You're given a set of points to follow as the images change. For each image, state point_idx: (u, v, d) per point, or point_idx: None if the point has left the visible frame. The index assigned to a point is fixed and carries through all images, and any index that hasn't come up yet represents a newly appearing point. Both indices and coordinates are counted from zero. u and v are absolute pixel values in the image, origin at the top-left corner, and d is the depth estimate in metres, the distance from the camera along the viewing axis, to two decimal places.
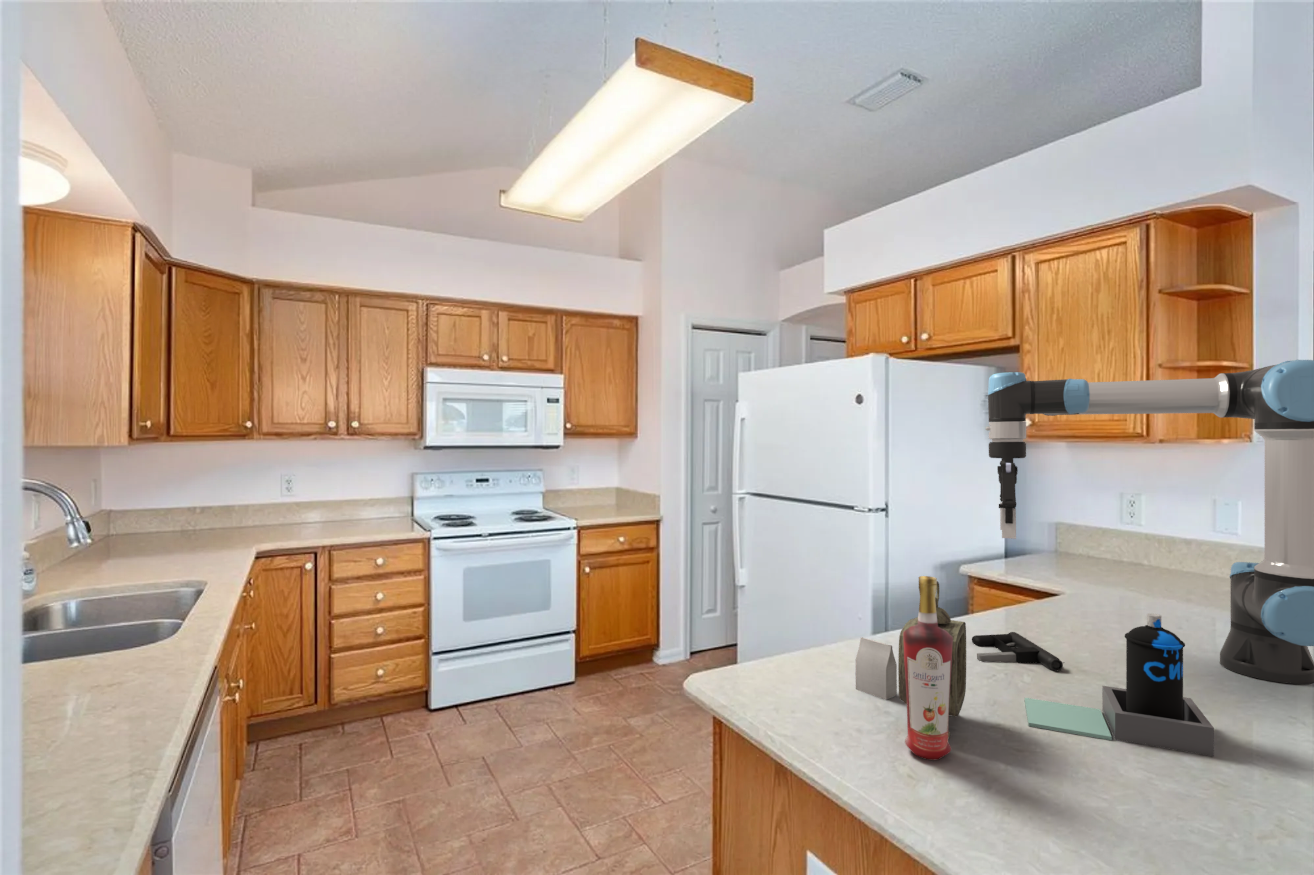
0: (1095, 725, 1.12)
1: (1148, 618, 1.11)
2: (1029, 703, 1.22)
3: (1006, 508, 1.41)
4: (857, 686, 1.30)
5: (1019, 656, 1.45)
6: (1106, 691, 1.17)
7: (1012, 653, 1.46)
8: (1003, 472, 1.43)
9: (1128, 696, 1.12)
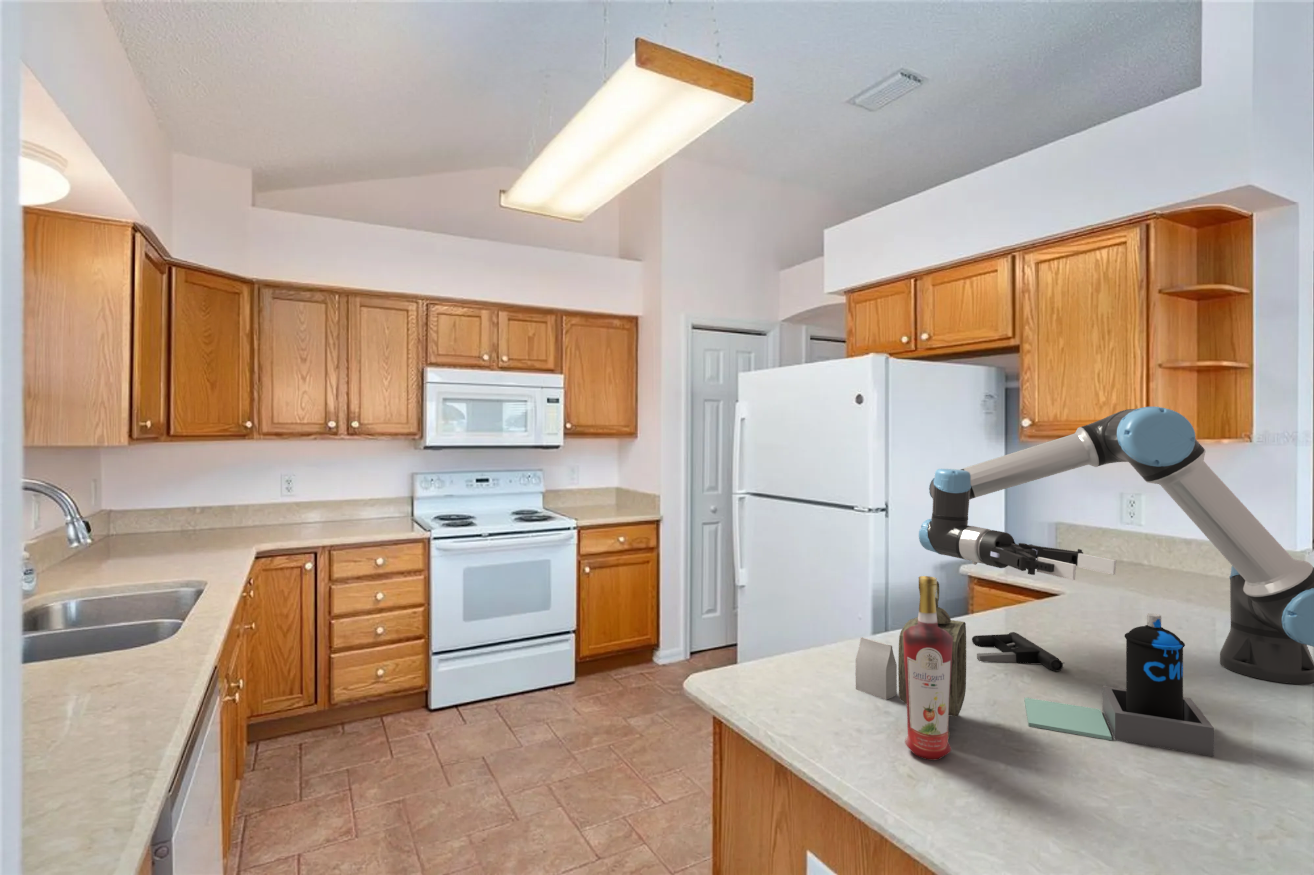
0: (1095, 725, 1.12)
1: (1148, 618, 1.11)
2: (1029, 703, 1.22)
3: (1032, 567, 1.22)
4: (857, 686, 1.30)
5: (1019, 656, 1.44)
6: (1106, 691, 1.17)
7: (1012, 653, 1.46)
8: (998, 560, 1.29)
9: (1128, 696, 1.12)
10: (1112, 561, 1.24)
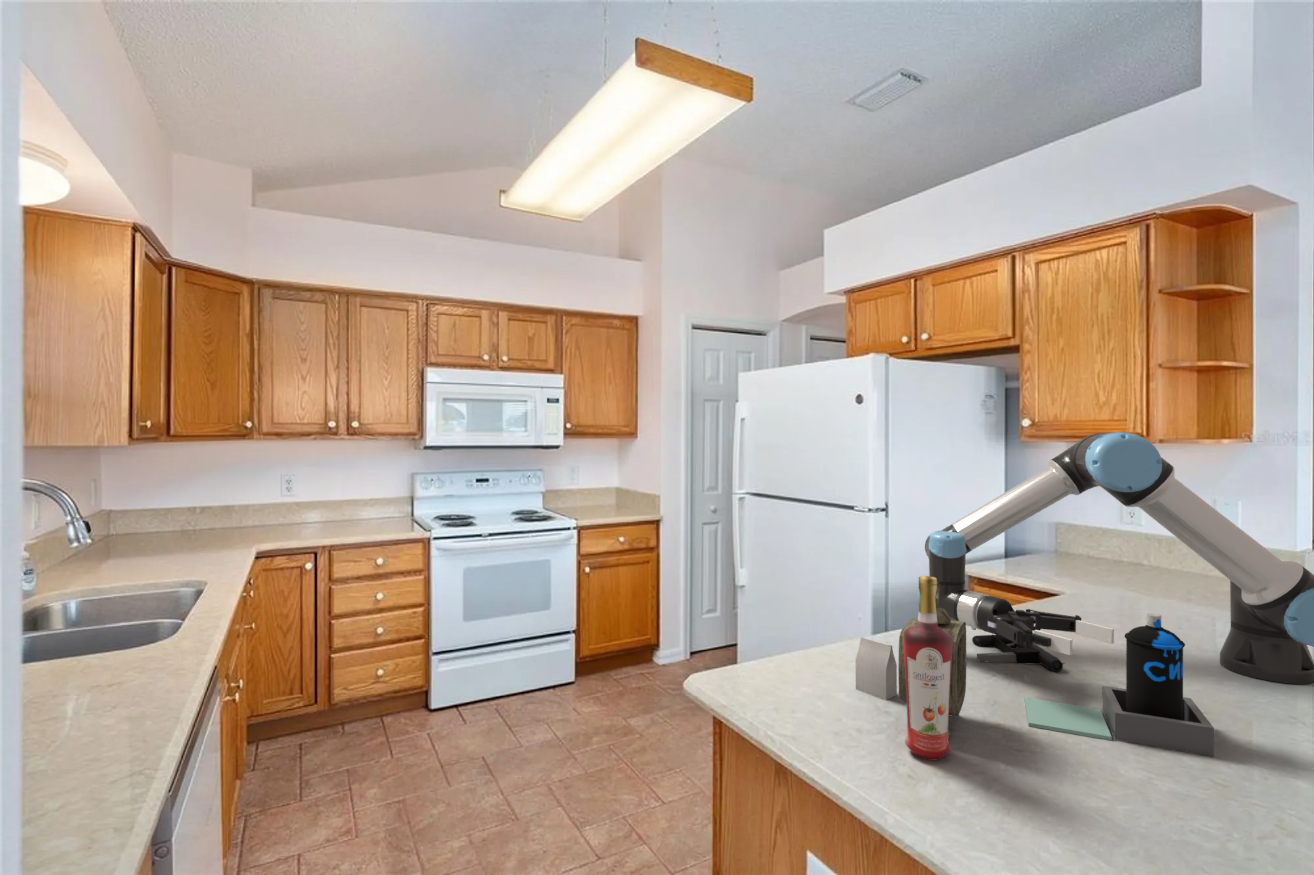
0: (1095, 725, 1.12)
1: (1148, 618, 1.11)
2: (1029, 703, 1.22)
3: (1029, 640, 1.22)
4: (857, 686, 1.30)
5: (1019, 656, 1.44)
6: (1106, 691, 1.17)
7: (1012, 653, 1.46)
8: (995, 631, 1.29)
9: (1128, 696, 1.12)
10: (1110, 630, 1.23)
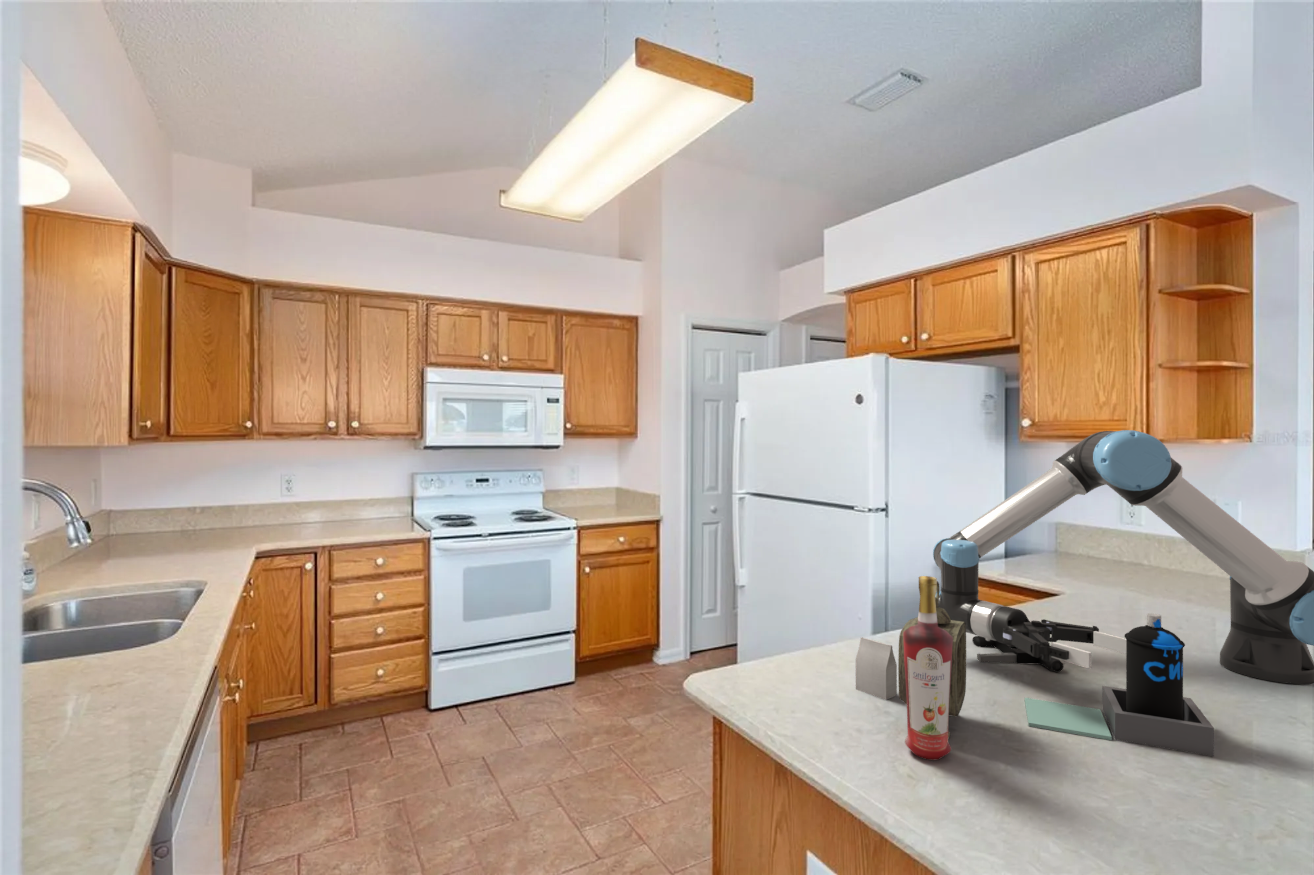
0: (1095, 725, 1.12)
1: (1148, 618, 1.11)
2: (1029, 703, 1.22)
3: (1046, 653, 1.19)
4: (857, 686, 1.30)
5: (1019, 657, 1.44)
6: (1106, 691, 1.17)
7: (1012, 654, 1.45)
8: (1011, 642, 1.26)
9: (1128, 696, 1.12)
10: None
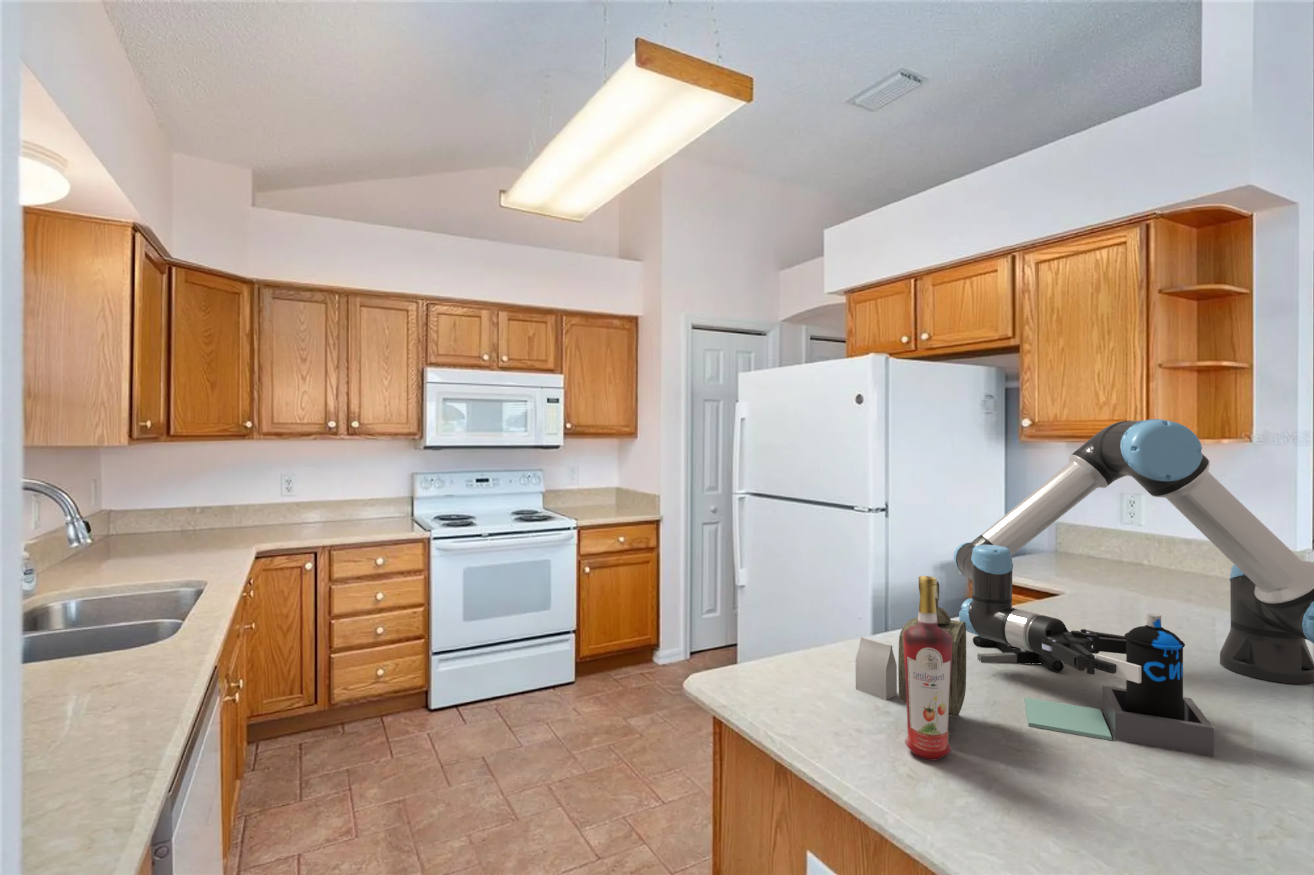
0: (1095, 725, 1.12)
1: (1148, 618, 1.11)
2: (1029, 703, 1.22)
3: (1091, 666, 1.12)
4: (857, 686, 1.30)
5: (1020, 657, 1.44)
6: (1106, 691, 1.17)
7: (1013, 654, 1.45)
8: (1051, 654, 1.19)
9: (1128, 696, 1.12)
10: None
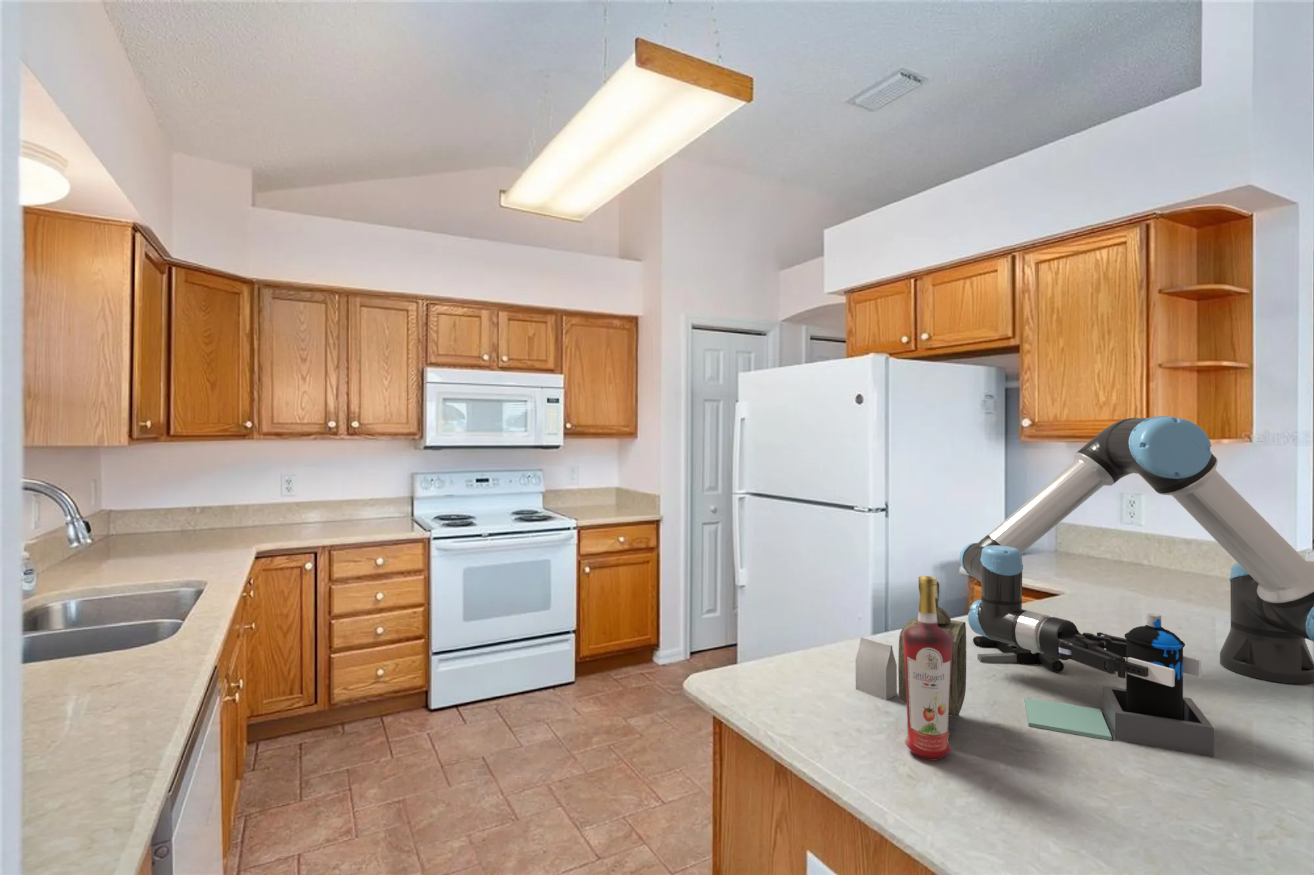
0: (1095, 725, 1.12)
1: (1148, 618, 1.11)
2: (1029, 703, 1.22)
3: (1122, 669, 1.10)
4: (857, 686, 1.30)
5: (1020, 657, 1.44)
6: (1106, 691, 1.17)
7: (1013, 654, 1.45)
8: (1070, 658, 1.17)
9: (1128, 696, 1.12)
10: (1197, 661, 1.09)
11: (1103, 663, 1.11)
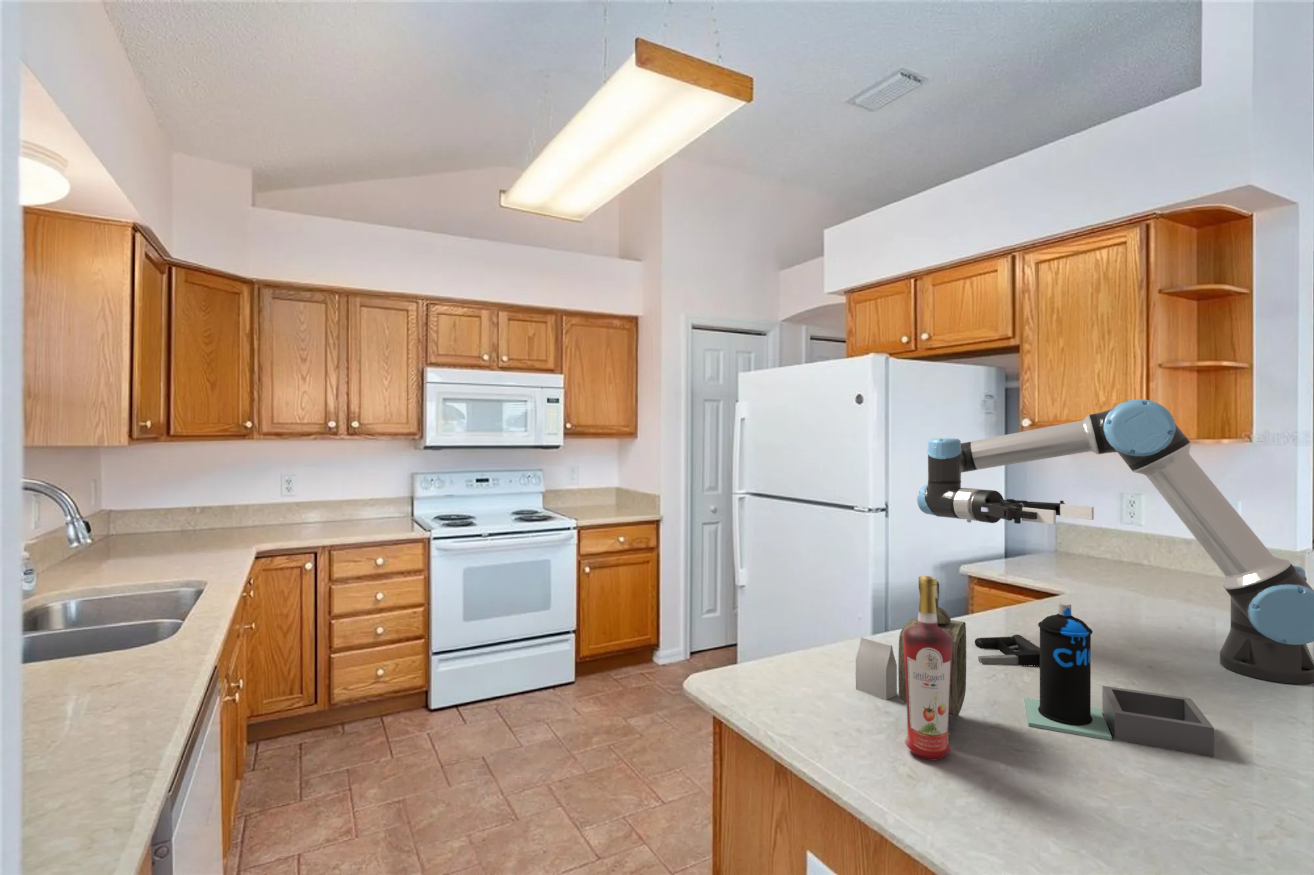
0: (1095, 725, 1.12)
1: (1059, 607, 1.16)
2: (1029, 703, 1.22)
3: (1017, 516, 1.36)
4: (857, 686, 1.30)
5: (1021, 659, 1.43)
6: (1106, 691, 1.17)
7: (1014, 656, 1.44)
8: (988, 514, 1.43)
9: (1041, 682, 1.17)
10: (1090, 508, 1.37)
11: (1003, 512, 1.37)
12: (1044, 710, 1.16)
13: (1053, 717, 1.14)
